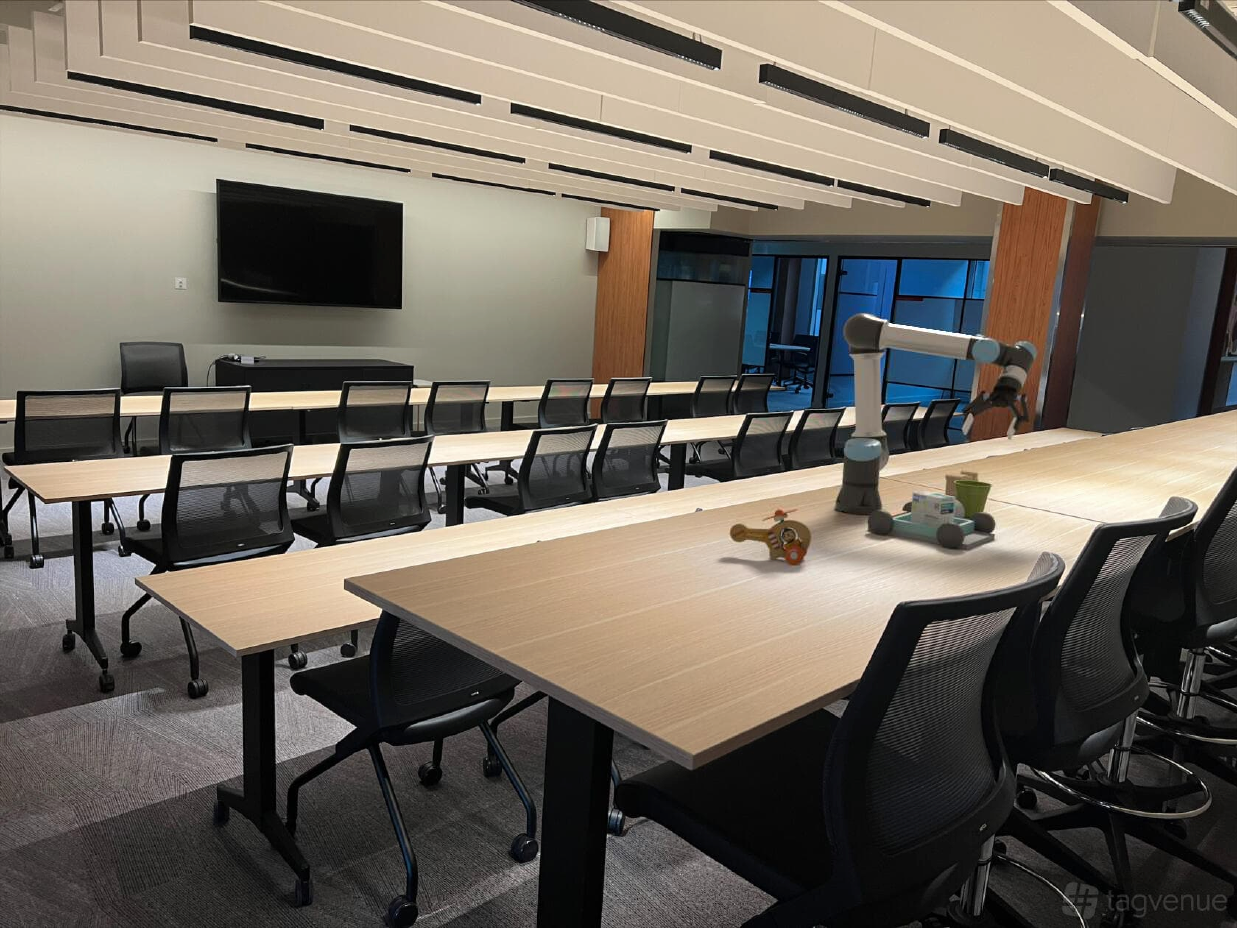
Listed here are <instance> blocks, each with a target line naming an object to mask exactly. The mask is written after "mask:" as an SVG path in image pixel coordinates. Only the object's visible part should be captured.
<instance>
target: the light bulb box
mask: <svg viewBox="0 0 1237 928" xmlns="http://www.w3.org/2000/svg"><path fill="white" fill-rule="evenodd" d="M955 499H956V497H954V496H949V495H945V493H944V494H942V493H939V492H932V491H929V490H921V491H912V497H911V502H912V508H911V520H910V522H914V523H919V524H925V525H930V526H936V527H940V526H941V525H943V524H946V523H949V522H954V511H955Z"/></svg>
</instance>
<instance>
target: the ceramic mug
mask: <svg viewBox="0 0 1237 928" xmlns="http://www.w3.org/2000/svg"><path fill="white" fill-rule="evenodd" d="M954 518H960V519H966V517H964V508H963V506H962V504H961V503H960V502H959V501H957V500H955V511H954Z"/></svg>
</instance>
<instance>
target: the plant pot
mask: <svg viewBox="0 0 1237 928" xmlns="http://www.w3.org/2000/svg"><path fill="white" fill-rule="evenodd" d="M954 483H955V485H956V490H957V501H959V502H960V503H961V504H962V506H963V508H964V518H969V519H970V517H971V516H972V515H974V514H976V513H979V512H985V507H986V503H987V499H988V496H989V494H990V490H991V488H992V487H993V485H994V484H992V483H990V482H985V481H979V480H978V481H969V480H957V481H954Z"/></svg>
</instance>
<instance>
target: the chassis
mask: <svg viewBox="0 0 1237 928" xmlns="http://www.w3.org/2000/svg"><path fill="white" fill-rule="evenodd" d="M911 508H912V501H908V502H906V503H905V504H904V505H903V506H902V509H901V510H900V509H894V510H889V511H888V510H885V509H882V510H878V511H875V512H873V513H871V514H868V515H869V516H868V517H867V532H872V533H873V534H875V535H879V536H880V535H888V536H895V537H899V538H903V539H910V540H912V541H913V540H915V541H919V542H925V543H929V544H934V545H939V546H942V547H943V548H945V549H954V548H956V549H961V550H966V551H968V550H971V549H973V548H976V547H978V546H980V545H983V544H986V543H989V542H990V541H993V540H995V536H996V534H995V533H993V532H994V531H995V529H996V520H995V519H994V517H993V516H992V514H990V513H988V512H985V511H983V512H979V513H976V514H974V515H972V516H971V517H970V518H969V519H967V518H965V519H960V518H954V522H949V523H946V524H943V525H941V526H940V527H936V526H930V525H925V524H919V523H914V522H910V520H911Z"/></svg>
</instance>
